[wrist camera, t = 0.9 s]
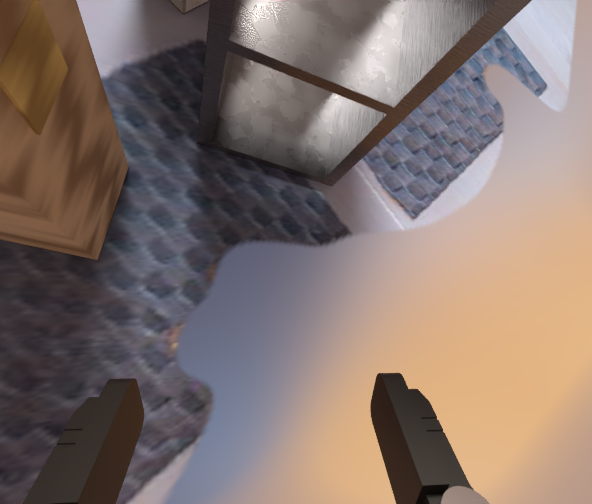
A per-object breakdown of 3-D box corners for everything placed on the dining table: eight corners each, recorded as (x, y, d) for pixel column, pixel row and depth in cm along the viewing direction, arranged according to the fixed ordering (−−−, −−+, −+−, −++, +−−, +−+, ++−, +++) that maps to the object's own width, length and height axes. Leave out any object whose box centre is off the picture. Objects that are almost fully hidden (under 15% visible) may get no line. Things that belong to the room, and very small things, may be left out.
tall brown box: (99, 260, 33) (-94, 97, 10) (-1, 239, 31) (-566, -40, 7) (130, 167, 35) (38, -137, 12) (40, 141, 33) (-281, -288, 10)
